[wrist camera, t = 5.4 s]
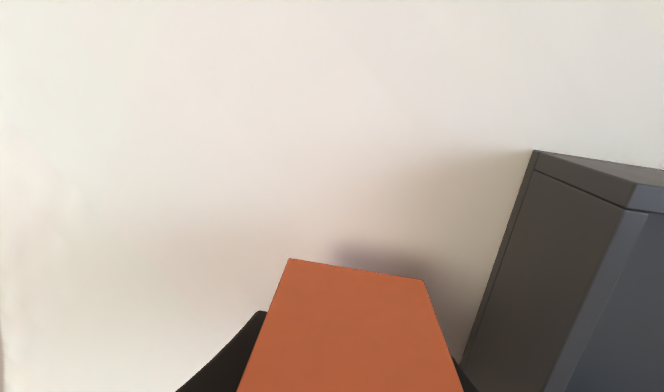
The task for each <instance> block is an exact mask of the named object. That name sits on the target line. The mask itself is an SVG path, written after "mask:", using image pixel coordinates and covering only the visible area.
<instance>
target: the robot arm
mask: <svg viewBox="0 0 664 392" xmlns="http://www.w3.org/2000/svg"><path fill="white" fill-rule="evenodd" d="M267 313H268V312H265V311H258V312H256V313H255V314H254V315H253V316H252V318H251V319H250V320H249V321H248V322H247V323H246V325H245V326H244V327H243V328H242V329H241V330H240V331H239V332H238V333H237V334H236V336H235V337H234V338H233V339H232V340H231V341H230V342H229V343H228V344H227V345H226V346H225V347H224V348H223V349H222V350H221V351H220V352H219V353H218V354H217V355H216V356H215V357H214V358H213V359H212V360H211V361H210V362H209V363H207V364H206V365H205V366H204V367H203V368H202V369H201V370H200V371H199V372H197V373H196V374H195V375H194V376H193V377H192V378H191V379H190V380H189V381H188V382H186V383H185V384H184V385H183V386H182V387H180V388H179V389H178V390H177V391H176V392H236V391H237V389H238V386H239V384H240V381H241V379H242V376H243V374H244V371H245V369H246V366H247V363H248V361H249V358H250V356H251V353H252V351H253V348H254V346H255V343H256V341H257V338H258V335H259V333H260V330H261V328H262V325H263V323H264V320H265V318H266V315H267ZM450 355H451V354H450ZM451 358H452V361H453V363H454V366H455V369H456V372H457V374H458V377H459V380H460V383H461V385H462V388H463V391H464V392H479V391H478V390H477V389H476V387H475V386H474V385H473V384H472V382H471V381H470V380H469V378H468V377H467V376H466V374H465V373H464V372H463V370H462V369H461V368H460V366H459V365H458V364H457V362H456V361H455V360H454V358H453V357H452V356H451Z"/></svg>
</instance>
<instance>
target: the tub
mask: <svg viewBox="0 0 664 392" xmlns="http://www.w3.org/2000/svg"><path fill="white" fill-rule="evenodd" d="M460 368H461V369H462V370H463V372H464V373H465V374H466V376H467V377H468V378H469V380H470V381H471V382H472V384H473V385H474V386H475V387H476V389H477V390H478V391H479V392H664V170H659V169H653V168H647V167H640V166H634V165H628V164H621V163H615V162H609V161H602V160H596V159H590V158H583V157H577V156H571V155H564V154H558V153H552V152H545V151H539V150H533V152H532V155H531V158H530V161H529V164H528V167H527V170H526V173H525V176H524V179H523V182H522V185H521V188H520V191H519V193H518V196H517V199H516V202H515V205H514V208H513V211H512V214H511V217H510V220H509V223H508V226H507V229H506V232H505V234H504V237H503V240H502V243H501V246H500V249H499V252H498V255H497V258H496V261H495V264H494V267H493V270H492V273H491V275H490V278H489V281H488V284H487V287H486V290H485V293H484V296H483V299H482V302H481V305H480V308H479V311H478V314H477V316H476V319H475V322H474V325H473V328H472V331H471V334H470V337H469V340H468V343H467V346H466V349H465V352H464V355H463V357H462V360H461V363H460Z"/></svg>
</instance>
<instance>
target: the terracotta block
mask: <svg viewBox="0 0 664 392" xmlns="http://www.w3.org/2000/svg"><path fill="white" fill-rule="evenodd" d="M236 392H464V391H463V388H462V385H461V383H460V380H459V377H458V374H457V372H456V369H455V366H454V363H453V361H452V358H451V355H450V353H449V350H448V347H447V344H446V342H445V339H444V336H443V333H442V331H441V328H440V325H439V322H438V320H437V317H436V314H435V311H434V309H433V306H432V303H431V300H430V298H429V295H428V292H427V290H426V287H425V284H424V281H423V280H419V279H413V278H407V277H401V276H395V275H388V274H382V273H376V272H370V271H364V270H358V269H352V268H346V267H340V266H334V265H328V264H322V263H316V262H310V261H304V260H298V259H292V258H289V259H288V262H287V264H286V267H285V269H284V272H283V274H282V277H281V279H280V282H279V285H278V287H277V290H276V292H275V295H274V297H273V300H272V302H271V305H270V307H269V310H268V313H267V315H266V318H265V320H264V323H263V325H262V328H261V330H260V333H259V335H258V338H257V341H256V343H255V346H254V348H253V351H252V353H251V356H250V358H249V361H248V363H247V366H246V369H245V371H244V374H243V376H242V379H241V381H240V384H239V386H238V389H237V391H236Z"/></svg>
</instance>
